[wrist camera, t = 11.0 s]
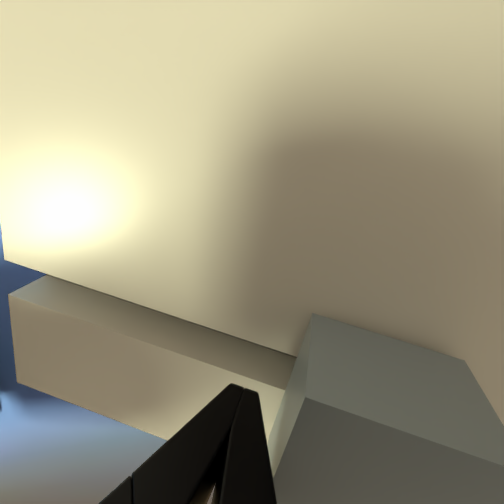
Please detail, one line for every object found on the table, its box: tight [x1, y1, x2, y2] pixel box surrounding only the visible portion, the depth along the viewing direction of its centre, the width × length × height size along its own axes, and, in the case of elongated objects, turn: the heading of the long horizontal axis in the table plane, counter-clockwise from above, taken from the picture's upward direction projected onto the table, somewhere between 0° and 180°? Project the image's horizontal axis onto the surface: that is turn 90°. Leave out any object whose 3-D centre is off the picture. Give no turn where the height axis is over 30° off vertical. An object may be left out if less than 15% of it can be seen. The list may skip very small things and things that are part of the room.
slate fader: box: [267, 313, 504, 504], centre depth 9 cm, size 4×5×5 cm
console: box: [0, 0, 504, 445], centre depth 8 cm, size 22×22×3 cm
